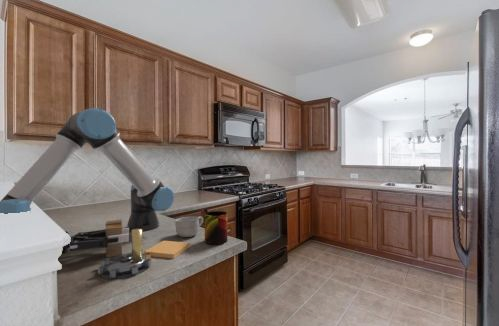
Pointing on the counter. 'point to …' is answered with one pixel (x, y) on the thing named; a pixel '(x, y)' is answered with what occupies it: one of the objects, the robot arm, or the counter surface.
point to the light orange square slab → (168, 249)
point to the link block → (112, 229)
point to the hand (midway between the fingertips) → (128, 234)
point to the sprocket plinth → (124, 274)
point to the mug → (215, 228)
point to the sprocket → (127, 259)
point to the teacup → (188, 226)
